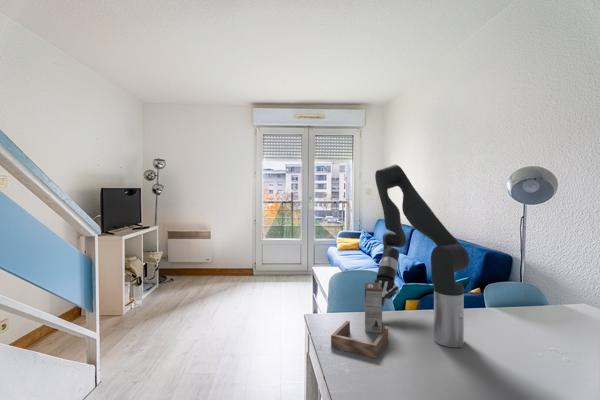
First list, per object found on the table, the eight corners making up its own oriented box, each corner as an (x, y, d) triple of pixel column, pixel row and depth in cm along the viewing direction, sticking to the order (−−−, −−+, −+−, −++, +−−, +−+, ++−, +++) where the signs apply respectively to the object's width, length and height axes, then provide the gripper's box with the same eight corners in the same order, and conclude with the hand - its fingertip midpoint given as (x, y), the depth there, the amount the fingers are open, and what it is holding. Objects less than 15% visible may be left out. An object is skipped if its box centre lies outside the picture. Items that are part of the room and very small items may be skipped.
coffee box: (364, 322, 129) (364, 281, 129) (381, 323, 128) (381, 282, 127) (364, 332, 120) (364, 288, 120) (382, 333, 119) (382, 289, 118)
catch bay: (387, 340, 113) (387, 328, 113) (375, 358, 101) (375, 345, 101) (346, 331, 121) (346, 320, 121) (331, 347, 109) (331, 335, 109)
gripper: (370, 263, 142) (361, 299, 132) (401, 266, 136) (394, 305, 126) (374, 272, 147) (365, 308, 137) (404, 276, 141) (397, 314, 130)
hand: (379, 306), depth 131 cm, fingers closed
